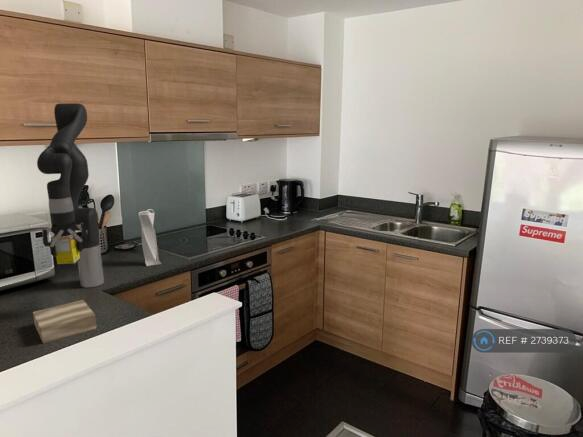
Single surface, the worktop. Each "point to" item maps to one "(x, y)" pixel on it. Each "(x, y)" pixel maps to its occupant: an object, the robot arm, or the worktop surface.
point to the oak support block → (64, 320)
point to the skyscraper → (149, 238)
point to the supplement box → (67, 250)
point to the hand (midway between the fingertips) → (67, 253)
